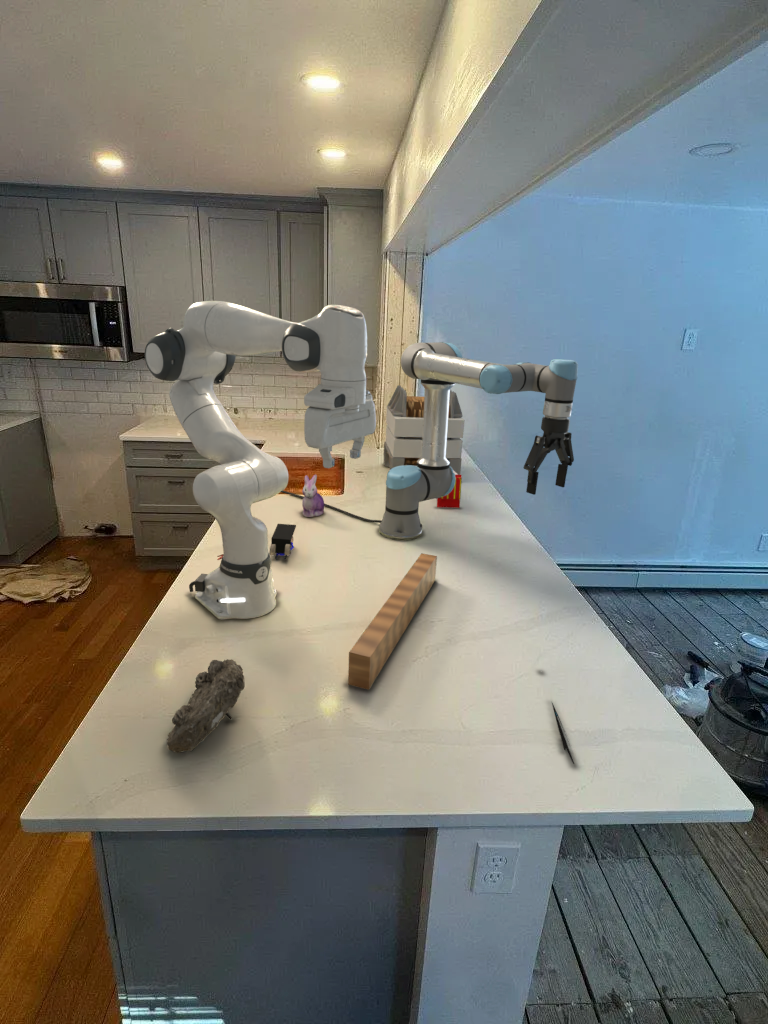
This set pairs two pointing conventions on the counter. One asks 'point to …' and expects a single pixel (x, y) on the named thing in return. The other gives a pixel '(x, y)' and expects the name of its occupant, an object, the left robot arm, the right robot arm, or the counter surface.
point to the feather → (562, 734)
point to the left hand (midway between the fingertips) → (342, 462)
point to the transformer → (418, 430)
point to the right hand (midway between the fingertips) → (545, 489)
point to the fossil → (206, 705)
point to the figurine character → (282, 540)
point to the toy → (452, 495)
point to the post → (390, 623)
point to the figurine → (312, 498)
